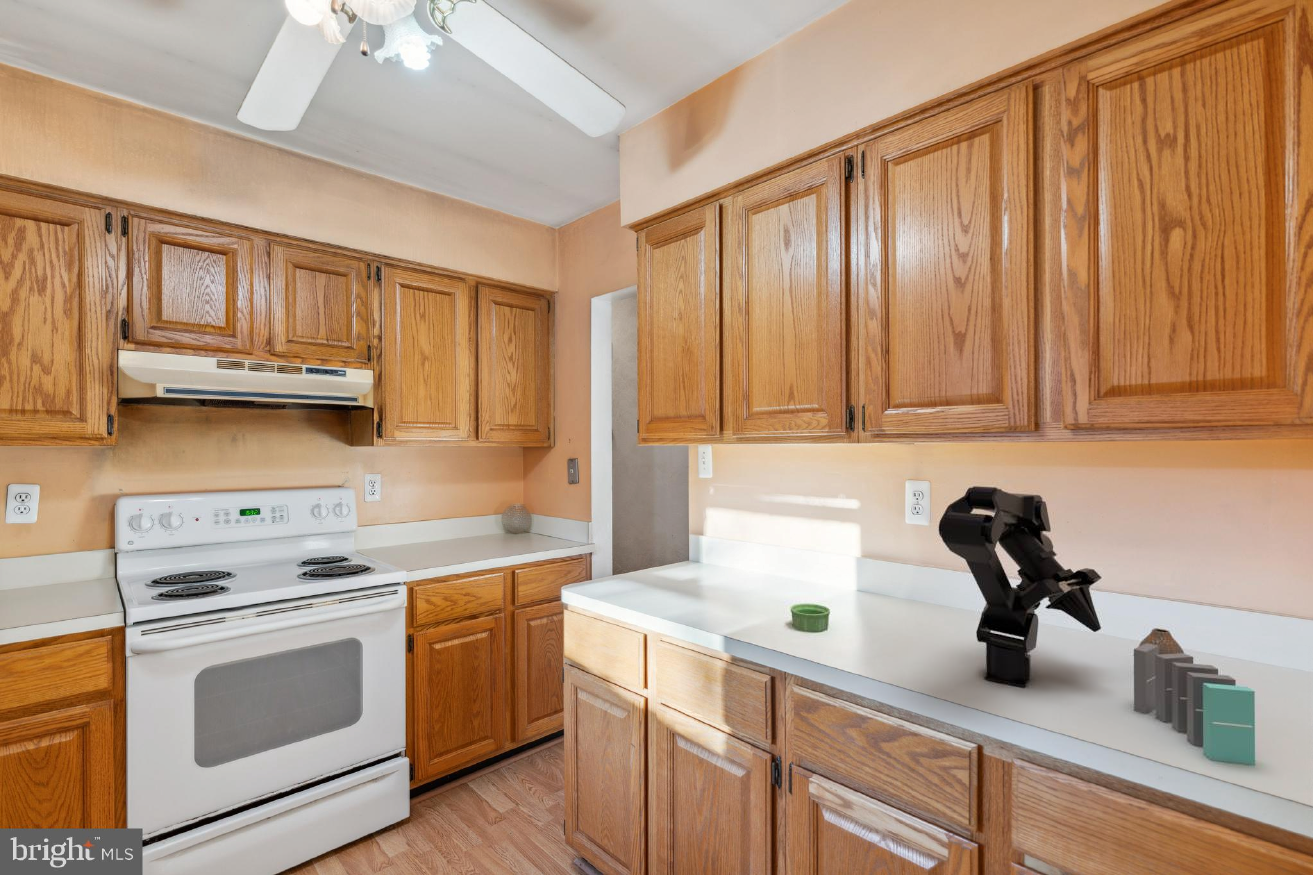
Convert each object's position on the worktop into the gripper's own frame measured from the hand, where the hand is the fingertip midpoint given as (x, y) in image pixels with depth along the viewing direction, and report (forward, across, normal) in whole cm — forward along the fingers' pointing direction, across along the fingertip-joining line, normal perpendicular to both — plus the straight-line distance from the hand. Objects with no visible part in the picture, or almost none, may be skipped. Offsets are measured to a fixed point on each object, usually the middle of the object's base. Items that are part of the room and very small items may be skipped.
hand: (1098, 630), depth 105 cm
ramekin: (-29, +16, -45) cm, 56 cm away
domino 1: (+13, +1, -3) cm, 13 cm away
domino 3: (+18, +4, +2) cm, 18 cm away
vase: (+10, -16, -6) cm, 20 cm away
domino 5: (+22, +10, +6) cm, 24 cm away
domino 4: (+20, +7, +4) cm, 21 cm away
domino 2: (+15, +1, 0) cm, 15 cm away
